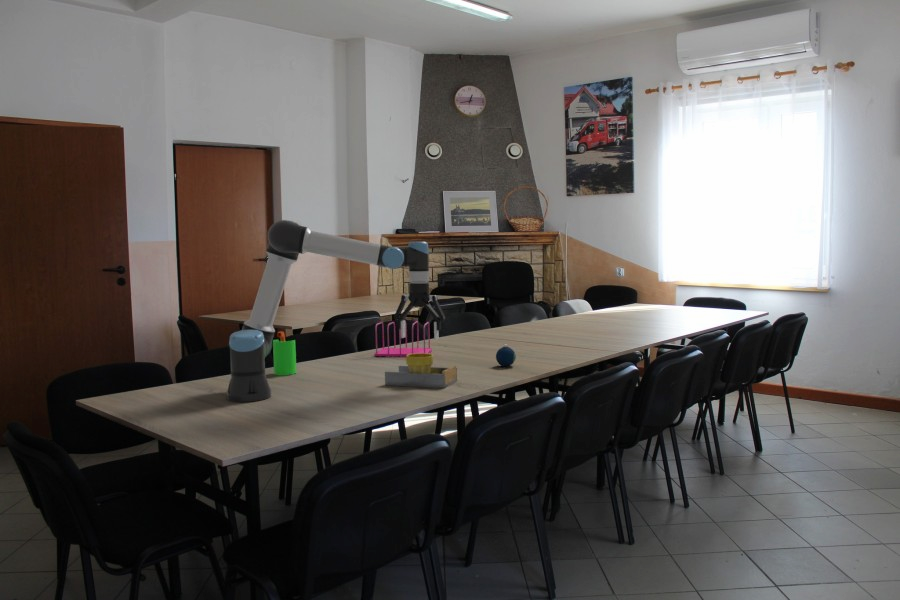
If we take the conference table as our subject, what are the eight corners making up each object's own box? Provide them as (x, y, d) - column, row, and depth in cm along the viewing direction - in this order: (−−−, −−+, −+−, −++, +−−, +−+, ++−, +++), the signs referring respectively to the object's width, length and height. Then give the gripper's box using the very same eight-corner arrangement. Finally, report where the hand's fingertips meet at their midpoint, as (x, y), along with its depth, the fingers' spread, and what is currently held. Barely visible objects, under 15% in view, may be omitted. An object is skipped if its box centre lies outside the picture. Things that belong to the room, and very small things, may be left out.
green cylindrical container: (298, 372, 299) (296, 329, 297) (292, 375, 291) (290, 332, 289) (277, 372, 299) (275, 330, 298) (270, 375, 291) (269, 332, 290)
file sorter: (382, 351, 351) (381, 320, 350) (431, 351, 348) (431, 319, 347) (374, 357, 334) (373, 324, 332) (426, 357, 331) (425, 324, 330)
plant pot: (438, 378, 273) (437, 353, 272) (426, 383, 263) (425, 357, 262) (414, 377, 277) (413, 352, 276) (401, 381, 268) (401, 356, 267)
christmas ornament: (510, 368, 296) (510, 345, 296) (492, 367, 301) (492, 343, 300) (519, 365, 304) (518, 342, 303) (501, 364, 308) (501, 341, 307)
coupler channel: (444, 388, 259) (444, 372, 259) (385, 384, 268) (384, 369, 267) (457, 380, 273) (456, 365, 272) (400, 378, 281) (399, 363, 280)
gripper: (453, 282, 266) (454, 338, 268) (392, 281, 275) (393, 335, 276) (446, 283, 259) (447, 340, 261) (384, 282, 268) (385, 338, 269)
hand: (419, 338), depth 269 cm, fingers open, 13 cm apart
